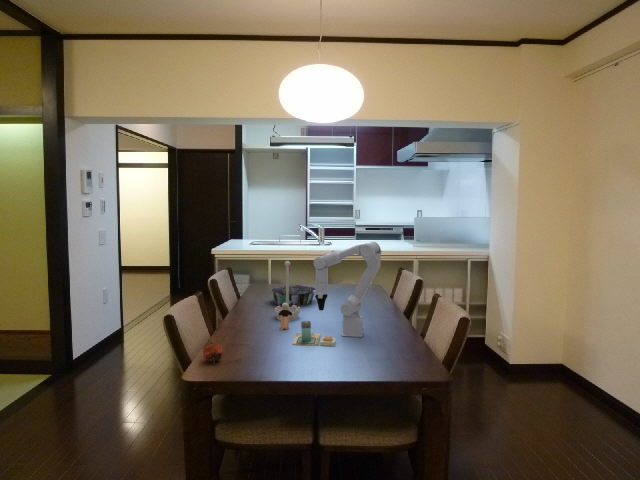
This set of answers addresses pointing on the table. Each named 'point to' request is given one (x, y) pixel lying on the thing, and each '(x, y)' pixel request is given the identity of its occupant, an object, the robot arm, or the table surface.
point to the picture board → (298, 341)
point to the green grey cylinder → (306, 331)
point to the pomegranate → (213, 352)
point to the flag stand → (293, 309)
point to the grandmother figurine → (285, 316)
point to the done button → (328, 338)
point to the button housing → (327, 342)
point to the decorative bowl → (293, 295)
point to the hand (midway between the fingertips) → (321, 310)
